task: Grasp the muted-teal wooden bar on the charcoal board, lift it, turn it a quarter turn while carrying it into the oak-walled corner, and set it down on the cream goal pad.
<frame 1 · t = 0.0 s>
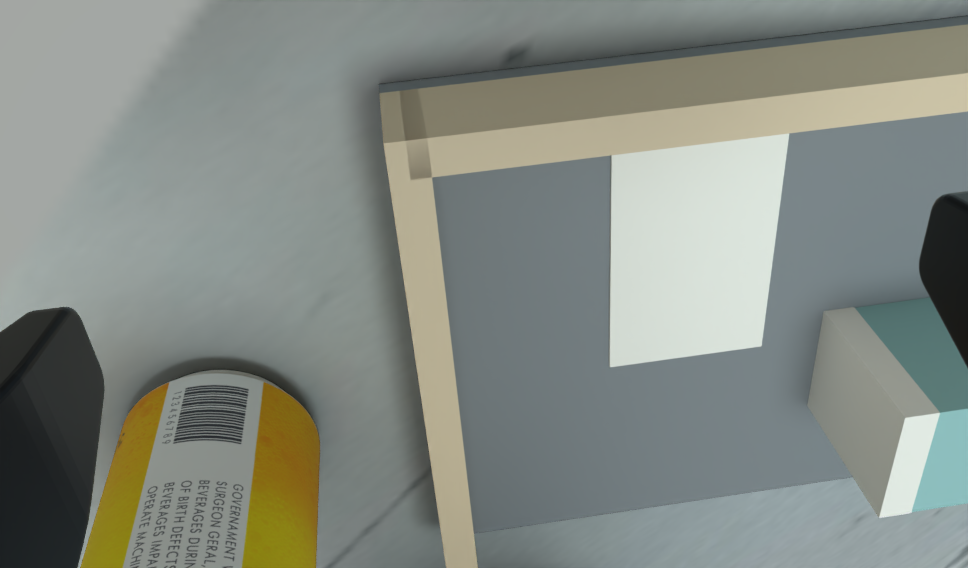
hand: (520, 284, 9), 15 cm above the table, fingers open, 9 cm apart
beer can: (225, 425, 29), on the table
teal block: (917, 346, 30), point 1 cm above the table, touching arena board
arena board: (735, 299, 29), on the table
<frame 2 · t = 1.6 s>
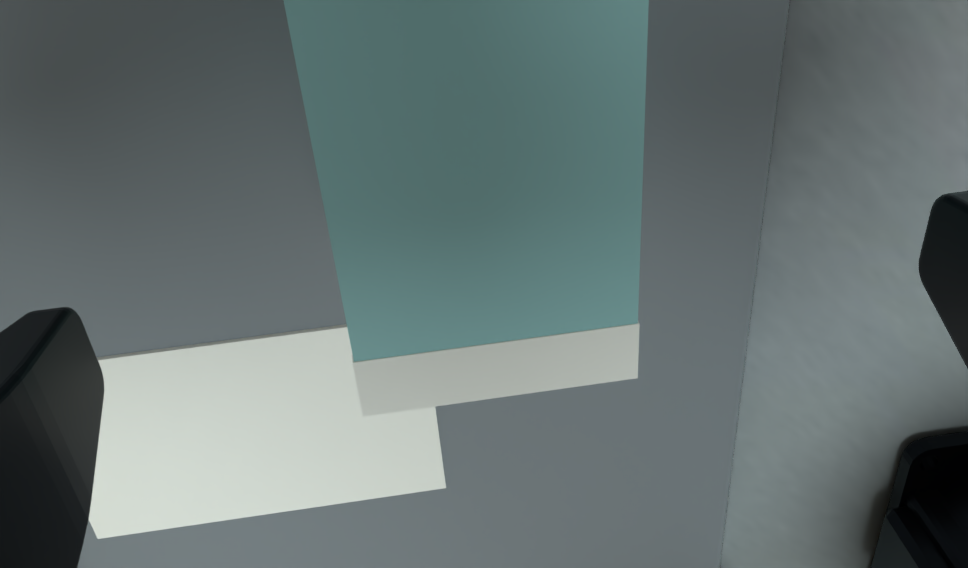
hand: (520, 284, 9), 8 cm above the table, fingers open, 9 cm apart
teal block: (446, 46, 15), point 1 cm above the table, touching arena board
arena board: (354, 335, 19), on the table
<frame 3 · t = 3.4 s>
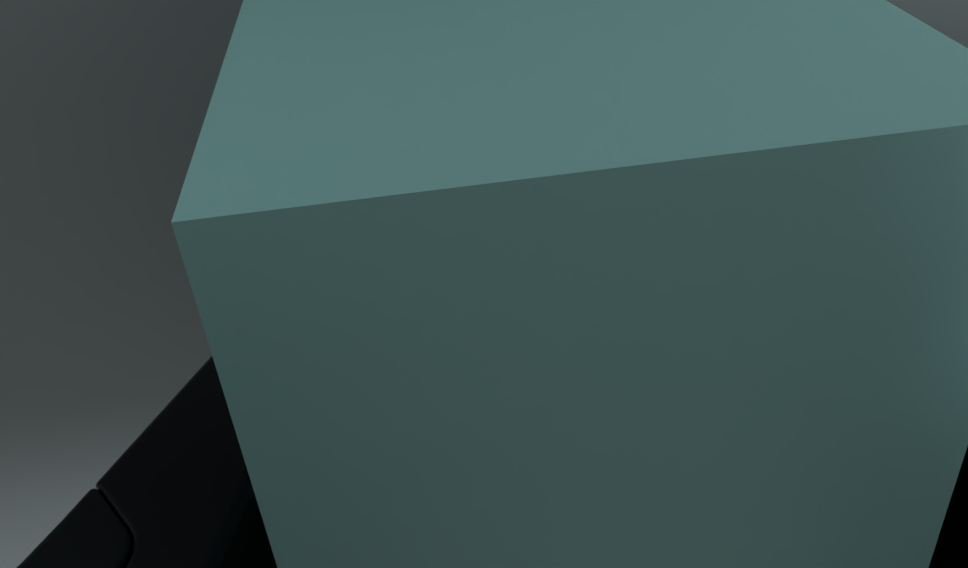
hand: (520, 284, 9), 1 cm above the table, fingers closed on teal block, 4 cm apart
teal block: (509, 249, 10), point 1 cm above the table, touching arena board, gripper
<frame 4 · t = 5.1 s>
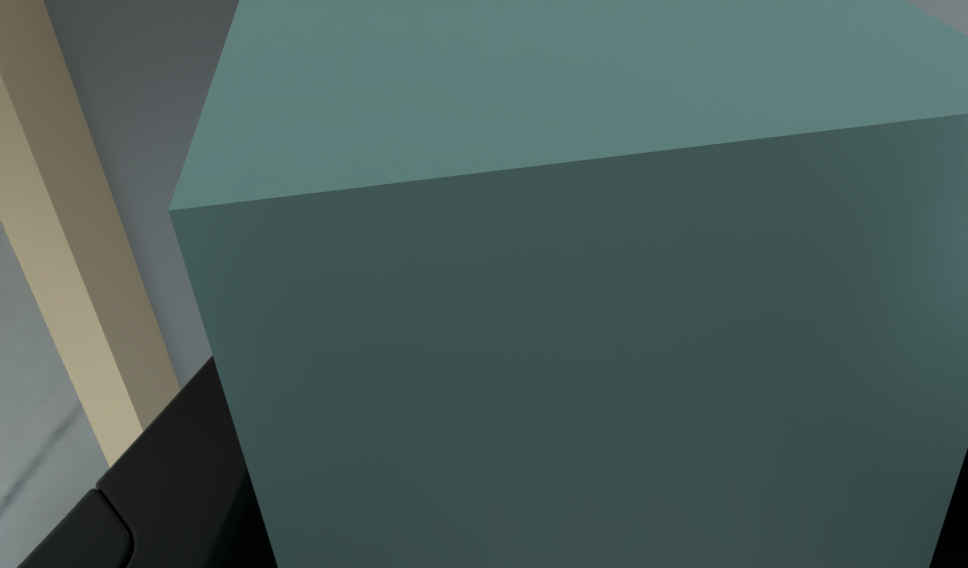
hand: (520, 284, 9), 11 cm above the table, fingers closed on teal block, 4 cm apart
teal block: (509, 244, 10), point 10 cm above the table, touching gripper
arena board: (521, 84, 20), on the table
when the fingers open (3 cm above the table, at t = 7.3 s): teal block drops 1 cm, resting on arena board.
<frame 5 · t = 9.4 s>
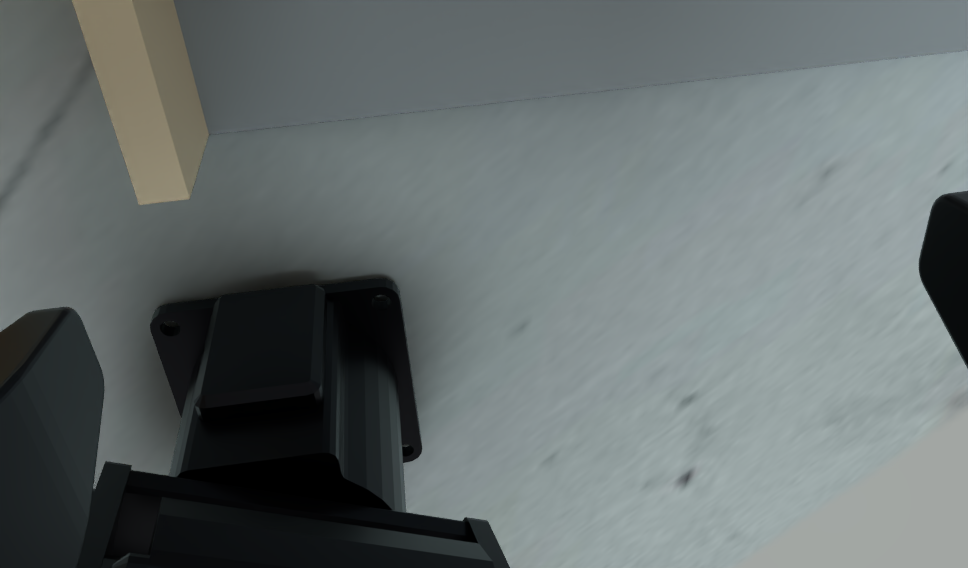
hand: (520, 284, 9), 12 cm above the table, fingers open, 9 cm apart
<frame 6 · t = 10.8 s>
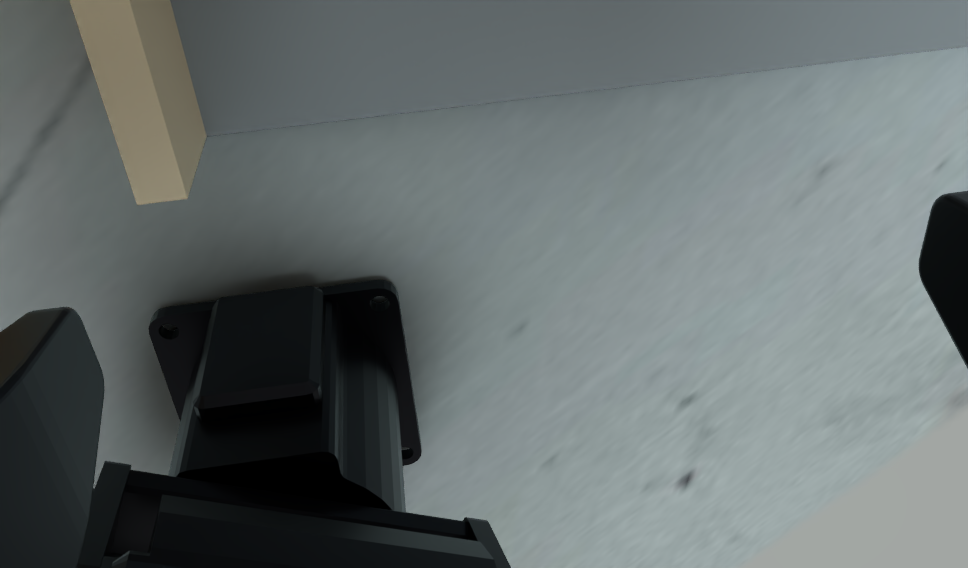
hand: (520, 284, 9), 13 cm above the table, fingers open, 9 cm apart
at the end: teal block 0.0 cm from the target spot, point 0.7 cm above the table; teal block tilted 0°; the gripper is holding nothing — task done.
